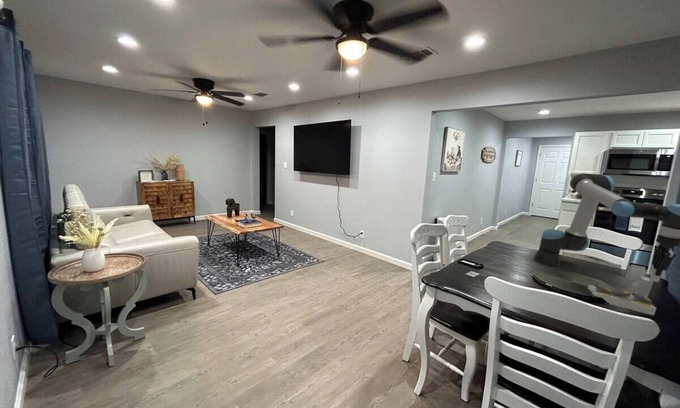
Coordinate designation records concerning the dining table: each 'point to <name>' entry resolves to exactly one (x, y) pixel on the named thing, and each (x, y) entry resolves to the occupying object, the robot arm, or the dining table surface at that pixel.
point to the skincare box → (643, 286)
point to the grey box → (635, 273)
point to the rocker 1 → (603, 289)
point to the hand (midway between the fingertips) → (653, 280)
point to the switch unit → (624, 301)
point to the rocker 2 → (620, 292)
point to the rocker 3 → (642, 298)
